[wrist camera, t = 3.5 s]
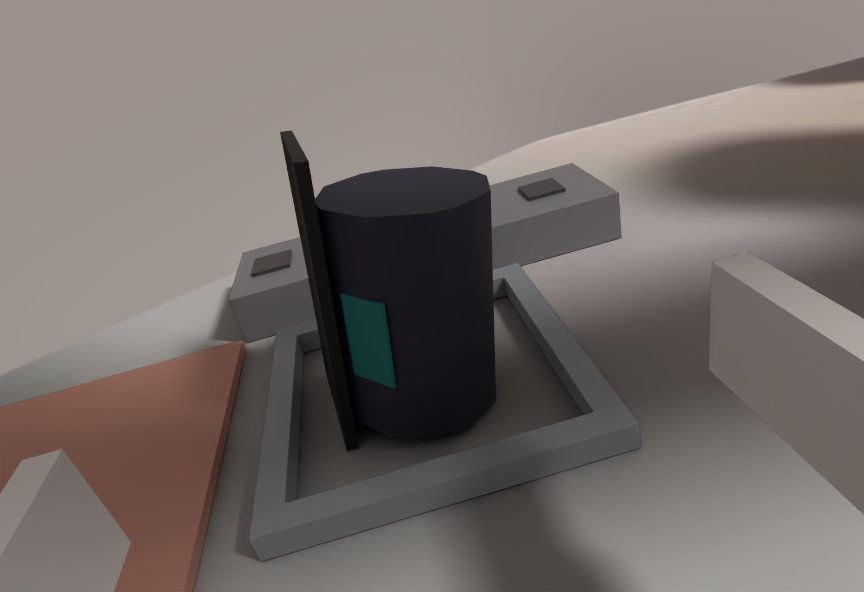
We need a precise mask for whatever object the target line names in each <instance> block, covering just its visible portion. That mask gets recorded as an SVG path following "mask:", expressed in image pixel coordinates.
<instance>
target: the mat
mask: <svg viewBox="0 0 864 592" xmlns="http://www.w3.org/2000/svg"><path fill="white" fill-rule="evenodd" d="M245 350H246V347H245V344H244V342H243V340H239V341H235V342H232V343H228V344H225V345H221V346H218V347H214V348H210V349H207V350H203V351H200V352H196V353H193V354H189V355H185V356H182V357H178V358H175V359H171V360H168V361H164V362H160V363H157V364H153V365H150V366H146V367H143V368H139V369H136V370H132V371H128V372H125V373H121V374H118V375H114V376H111V377H107V378H103V379H100V380H96V381H93V382H89V383H86V384H82V385H78V386H75V387H71V388H68V389H64V390H61V391H57V392H53V393H50V394H46V395H43V396H39V397H36V398H32V399H28V400H25V401H21V402H18V403H14V404H11V405H7V406H3V407H0V493H1V492H2V490H3V489H4V487H5V486H6V484H7V483H8V481H9V479H10V478H11V476H12V475H13V473H14V472H15V470H16V469H17V467H18V466H19V464H20V463H21V461H22V460H25V459H28V458H32V457H35V456H39V455H42V454H46V453H49V452H53V451H56V450H60V449H63V450H64V451H65V453H66V454H67V456H68V457H69V458H70V460H71V461H72V462H73V464H74V465H75V466H76V468H77V469H78V471H79V472H80V473H81V475H82V476H83V477H84V479H85V480H86V481H87V483H88V484H89V485H90V487H91V488H92V490H93V491H94V492H95V494H96V495H97V496H98V498H99V499H100V500H101V502H102V503H103V505H104V506H105V507H106V509H107V510H108V511H109V513H110V514H111V515H112V517H113V518H114V520H115V521H116V522H117V524H118V525H119V526H120V528H121V529H122V530H123V532H124V533H125V534H126V536H127V537H128V539H129V540H130V541H131V544H130V547H129V550H128V552H127V555H126V558H125V561H124V564H123V567H122V570H121V573H120V575H119V578H118V581H117V584H116V587H115V590H114V592H193V590H194V585H195V581H196V576H197V571H198V567H199V562H200V558H201V553H202V548H203V544H204V539H205V535H206V530H207V525H208V521H209V516H210V512H211V507H212V502H213V498H214V493H215V488H216V484H217V479H218V475H219V470H220V465H221V461H222V456H223V452H224V447H225V442H226V438H227V433H228V429H229V424H230V419H231V415H232V410H233V406H234V401H235V396H236V392H237V387H238V383H239V378H240V373H241V369H242V364H243V359H244V355H245Z"/></svg>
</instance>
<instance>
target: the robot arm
mask: <svg viewBox="0 0 864 592" xmlns="http://www.w3.org/2000/svg"><path fill="white" fill-rule="evenodd" d="M709 370H710V371H711V372H712V373H713V374H714V375H715V376H716V377H717V378H718V379H719V380H720V381H722V382H723V383H724V384H725V385H726V386H727V387H728V388H729V389H730V390H731V391H732V392H733V393H734V394H735V395H737V396H738V397H739V398H740V399H741V400H742V401H743V402H744V403H745V404H746V405H747V406H748V407H749V408H750V409H751V410H753V411H754V412H755V413H756V414H757V415H758V416H759V417H760V418H761V419H762V420H763V421H764V422H765V423H766V424H767V425H769V426H770V427H771V428H772V429H773V430H774V431H775V432H776V433H777V434H778V435H779V436H780V437H781V438H782V439H783V440H785V441H786V442H787V443H788V444H789V445H790V446H791V447H792V448H793V449H794V450H795V451H796V452H797V453H798V454H799V455H801V456H802V457H803V458H804V459H805V460H806V461H807V462H808V463H809V464H810V465H811V466H812V467H813V468H814V469H816V470H817V471H818V472H819V473H820V474H821V475H822V476H823V477H824V478H825V479H826V480H827V481H828V482H829V483H830V484H832V485H833V486H834V487H835V488H836V489H837V490H838V491H839V492H840V493H841V494H842V495H843V496H844V497H845V498H846V499H848V500H849V501H850V502H851V503H852V504H853V505H854V506H855V507H856V508H857V509H858V510H859V511H860V512H861V513H862V514H864V319H863V318H861V317H860V316H858V315H856V314H855V313H853V312H851V311H849V310H848V309H846V308H844V307H842V306H841V305H839V304H837V303H835V302H834V301H832V300H830V299H829V298H827V297H825V296H823V295H822V294H820V293H818V292H816V291H815V290H813V289H811V288H809V287H808V286H806V285H804V284H803V283H801V282H799V281H797V280H796V279H794V278H792V277H790V276H789V275H787V274H785V273H784V272H782V271H780V270H778V269H777V268H775V267H773V266H771V265H770V264H768V263H766V262H764V261H763V260H761V259H759V258H758V257H756V256H754V255H752V254H751V253H749V252H744V253H741V254H738V255H734V256H731V257H727V258H724V259H720V260H717V261H713V262H712V279H711V315H710V352H709ZM130 544H131V541H130V540H129V539H128V537H127V536H126V534H125V533H124V532H123V530H122V529H121V528H120V526H119V525H118V524H117V522H116V521H115V520H114V518H113V517H112V515H111V514H110V513H109V511H108V510H107V509H106V507H105V506H104V505H103V503H102V502H101V500H100V499H99V498H98V496H97V495H96V494H95V492H94V491H93V490H92V488H91V487H90V485H89V484H88V483H87V481H86V480H85V479H84V477H83V476H82V475H81V473H80V472H79V471H78V469H77V468H76V466H75V465H74V464H73V462H72V461H71V460H70V458H69V457H68V456H67V454H66V453H65V451H64V450H63V449H60V450H56V451H53V452H49V453H46V454H42V455H39V456H35V457H32V458H28V459H25V460H22V461H21V463H20V464H19V466H18V467H17V469H16V470H15V472H14V473H13V475H12V476H11V478H10V479H9V481H8V483H7V484H6V486H5V487H4V489H3V490H2V492H1V493H0V592H114V590H115V587H116V584H117V581H118V578H119V575H120V573H121V570H122V567H123V564H124V561H125V558H126V555H127V552H128V550H129V547H130Z"/></svg>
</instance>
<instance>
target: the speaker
mask: <svg viewBox="0 0 864 592" xmlns="http://www.w3.org/2000/svg"><path fill="white" fill-rule="evenodd" d="M280 134H281V139H282V144H283V150H284V154H285V160H286V165H287V171H288V176H289V180H290V186H291V191H292V197H293V202H294V207H295V212H296V217H297V223H298V228H299V233H300V239H301V244H302V249H303V254H304V259H305V265H306V270H307V275H308V280H309V286H310V291H311V296H312V301H313V307H314V312H315V317H316V322H317V327H318V333H319V338H320V343H321V348H322V354H323V359H324V364H325V369H326V374H327V378H328V382H329V385H330V389H331V393H332V397H333V400H334V404H335V408H336V412H337V415H338V419H339V423H340V427H341V430H342V434H343V438H344V442H345V445H346V449H347V451H348V450H352V449H356V448H358V445H357V439H356V434H355V428H354V422H353V416H354V417H355V419H356V421H358V422H360V423H362V424H365V425H367V426H369V427H371V428H373V429H375V430H377V431H380V432H382V433H384V434H386V435H388V436H390V437H392V438H412V437H433V436H447V435H450V434H452V433H455V432H457V431H460V430H463V429H465V428H468V427H470V426H471V425H472V424H473V423H474V422H475V421H476V420H477V419H478V418H479V417H480V416H481V415H482V414H483V413H484V412H485V411H486V410H487V409H488V408H489V407H490V406H491V405H492V404H493V403H494V402H495V401H496V386H495V345H494V303H493V262H492V221H491V190H490V186H489V183H488V179H487V176H486V175H483V174H480V173H478V172H475V171H470V170H460V169H451V168H441V167H418V168H404V169H388V170H380V171H374V172H369V173H364V174H359V175H356V176H353V177H351V178H347V179H345V180H342V181H339V182H336V183H333V184H330V185H327V186H325V187H323V189H322V190H321V192H320V193H319V194H318V196H317V197H316V199H315V197H314V191H313V186H312V180H311V174H310V168H309V162H308V160H307V158H306V156H305V154H304V152H303V151H302V149H301V147H300V145H299V143H298V141H297V140H296V138H295V136H294V134H293V132H292V131H285V132H280ZM352 414H353V416H352Z"/></svg>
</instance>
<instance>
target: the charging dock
mask: <svg viewBox="0 0 864 592" xmlns="http://www.w3.org/2000/svg"><path fill="white" fill-rule="evenodd" d="M490 190H491V221H492V262H493V299H496V298H499V297H503V296H508V297H509V299H510V300H511V302H512V304H513V305H514V307H515V308H516V310H517V311H518V313H519V315H520V316H521V318H522V319H523V321H524V322H525V324H526V326H527V327H528V329H529V330H530V332H531V333H532V335H533V337H534V338H535V340H536V341H537V343H538V344H539V346H540V348H541V349H542V351H543V352H544V354H545V355H546V357H547V358H548V360H549V362H550V363H551V365H552V366H553V368H554V369H555V371H556V373H557V374H558V376H559V377H560V379H561V380H562V382H563V384H564V385H565V387H566V388H567V390H568V391H569V393H570V395H571V396H572V398H573V399H574V401H575V402H576V404H577V406H578V407H579V409H580V410H581V412H582V413H583V415H582V416H578V417H575V418H571V419H568V420H565V421H561V422H558V423H555V424H551V425H548V426H544V427H541V428H538V429H534V430H531V431H528V432H524V433H521V434H517V435H514V436H511V437H507V438H504V439H500V440H497V441H494V442H490V443H487V444H484V445H480V446H477V447H473V448H470V449H467V450H463V451H460V452H457V453H453V454H450V455H446V456H443V457H440V458H436V459H433V460H429V461H426V462H423V463H419V464H416V465H413V466H409V467H406V468H402V469H399V470H396V471H392V472H389V473H386V474H382V475H379V476H375V477H372V478H369V479H365V480H362V481H358V482H355V483H352V484H348V485H345V486H342V487H338V488H335V489H331V490H328V491H325V492H321V493H318V494H314V495H311V496H308V497H304V498H301V499H298V500H296V498H297V478H298V457H299V437H300V417H301V396H302V376H303V356H304V353H305V352H309V351H312V350H316V349H319V348H321V343H320V338H319V333H318V327H317V322H316V317H315V312H314V307H313V301H312V296H311V291H310V286H309V280H308V275H307V270H306V265H305V259H304V254H303V249H302V244H301V239H300V237H299V238H296V239H292V240H288V241H285V242H281V243H277V244H273V245H270V246H266V247H262V248H259V249H255V250H251V251H248V252H244V253H243V254H242V257H241V261H240V264H239V267H238V270H237V273H236V277H235V280H234V283H233V286H232V289H231V293H230V296H229V299H228V302H229V304H230V306H231V308H232V310H233V313H234V315H235V317H236V319H237V321H238V324H239V326H240V328H241V330H242V332H243V334H244V337H245V339H246V341H247V342H251V341H254V340H258V339H261V338H265V337H269V336H272V335H276V341H275V348H274V356H273V363H272V371H271V378H270V386H269V393H268V401H267V408H266V416H265V423H264V430H263V438H262V445H261V453H260V460H259V468H258V475H257V483H256V490H255V498H254V505H253V512H252V520H251V527H250V535H249V541H250V543H251V545H252V546H253V548H254V550H255V552H256V553H257V555H258V557H259V559H260V560H261V561H265V560H268V559H271V558H275V557H278V556H281V555H285V554H288V553H291V552H295V551H298V550H301V549H305V548H308V547H311V546H315V545H318V544H321V543H325V542H328V541H331V540H335V539H338V538H341V537H345V536H348V535H351V534H355V533H358V532H361V531H365V530H368V529H371V528H375V527H378V526H381V525H385V524H388V523H391V522H395V521H398V520H401V519H405V518H408V517H411V516H415V515H418V514H421V513H425V512H428V511H431V510H435V509H438V508H441V507H445V506H448V505H451V504H455V503H458V502H461V501H465V500H468V499H471V498H475V497H478V496H481V495H485V494H488V493H491V492H495V491H498V490H501V489H505V488H508V487H511V486H515V485H518V484H521V483H525V482H528V481H531V480H535V479H538V478H541V477H545V476H548V475H551V474H554V473H558V472H561V471H564V470H568V469H571V468H574V467H578V466H581V465H584V464H588V463H591V462H594V461H598V460H601V459H604V458H608V457H611V456H614V455H618V454H621V453H624V452H628V451H631V450H634V449H638V448H641V441H640V423H639V422H638V421H637V419H636V418H635V417H634V415H633V414H632V413H631V412H630V410H629V409H628V408H627V406H626V405H625V404H624V402H623V401H622V400H621V398H620V397H619V396H618V394H617V393H616V392H615V390H614V389H613V388H612V386H611V385H610V384H609V382H608V381H607V380H606V379H605V377H604V376H603V375H602V373H601V372H600V371H599V369H598V368H597V367H596V365H595V364H594V363H593V361H592V360H591V359H590V357H589V356H588V355H587V353H586V352H585V351H584V350H583V348H582V347H581V346H580V344H579V343H578V342H577V340H576V339H575V338H574V336H573V335H572V334H571V332H570V331H569V330H568V328H567V327H566V326H565V324H564V323H563V322H562V321H561V319H560V318H559V317H558V315H557V314H556V313H555V311H554V310H553V309H552V307H551V306H550V305H549V303H548V302H547V301H546V299H545V298H544V297H543V295H542V294H541V293H540V291H539V290H538V289H537V288H536V286H535V285H534V284H533V282H532V281H531V280H530V278H529V277H528V276H527V274H526V273H525V272H524V270H523V269H522V268H521V266H522V265H525V264H529V263H532V262H536V261H539V260H543V259H547V258H550V257H554V256H557V255H561V254H564V253H568V252H572V251H575V250H579V249H582V248H586V247H589V246H593V245H596V244H600V243H604V242H607V241H611V240H614V239H618V238H621V222H620V205H619V192H617V191H615V190H614V189H612V188H611V187H609V186H608V185H606V184H604V183H603V182H601V181H600V180H598V179H597V178H595V177H593V176H592V175H590V174H589V173H587V172H586V171H584V170H582V169H581V168H579V167H578V166H576V165H575V164H573V163H571V164H567V165H563V166H560V167H556V168H552V169H549V170H545V171H541V172H537V173H534V174H530V175H526V176H523V177H519V178H515V179H512V180H508V181H504V182H501V183H497V184H493V185H490Z"/></svg>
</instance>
